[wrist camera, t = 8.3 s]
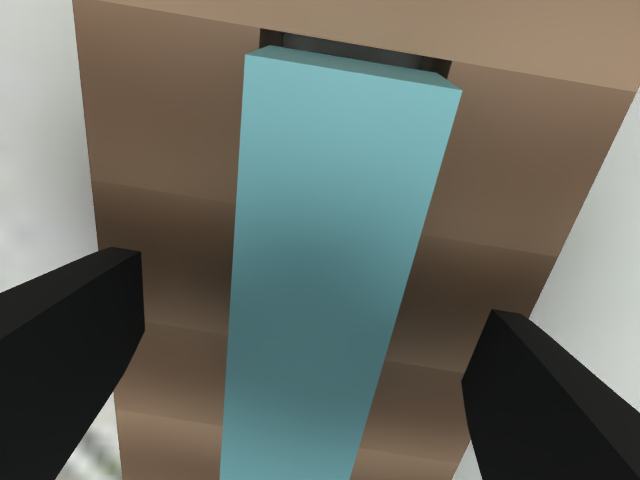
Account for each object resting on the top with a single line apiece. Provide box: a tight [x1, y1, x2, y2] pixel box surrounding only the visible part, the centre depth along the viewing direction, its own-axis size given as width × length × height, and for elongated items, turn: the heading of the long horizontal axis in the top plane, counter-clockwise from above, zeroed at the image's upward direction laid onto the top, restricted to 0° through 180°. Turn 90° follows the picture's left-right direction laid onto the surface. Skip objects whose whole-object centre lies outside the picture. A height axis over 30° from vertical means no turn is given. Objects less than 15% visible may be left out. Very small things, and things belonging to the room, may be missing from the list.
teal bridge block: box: [220, 45, 463, 480], centre depth 10 cm, size 10×3×5 cm, turn 172°
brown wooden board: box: [72, 0, 640, 480], centre depth 11 cm, size 22×10×3 cm, turn 171°
